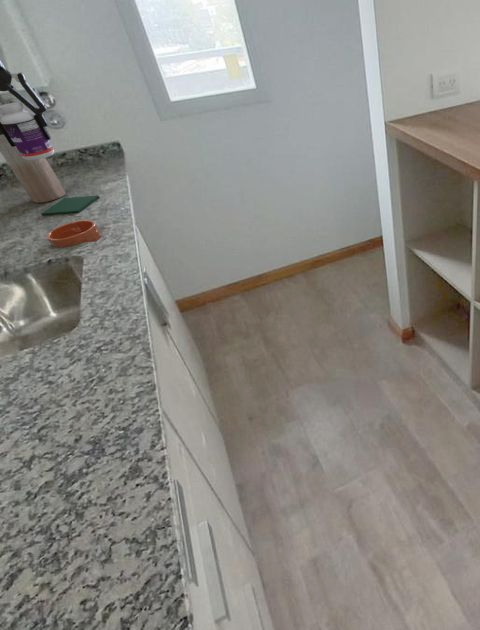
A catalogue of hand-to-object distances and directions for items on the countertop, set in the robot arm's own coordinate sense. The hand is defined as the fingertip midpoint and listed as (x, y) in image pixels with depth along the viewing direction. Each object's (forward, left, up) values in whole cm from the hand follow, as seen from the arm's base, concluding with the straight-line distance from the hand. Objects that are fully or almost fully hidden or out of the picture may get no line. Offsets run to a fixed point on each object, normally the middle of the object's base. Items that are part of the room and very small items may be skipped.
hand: (31, 142), depth 128 cm
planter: (-17, +14, -22) cm, 31 cm away
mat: (-3, +4, -22) cm, 22 cm away
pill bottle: (0, 0, -5) cm, 5 cm away
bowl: (+15, -22, -22) cm, 34 cm away
